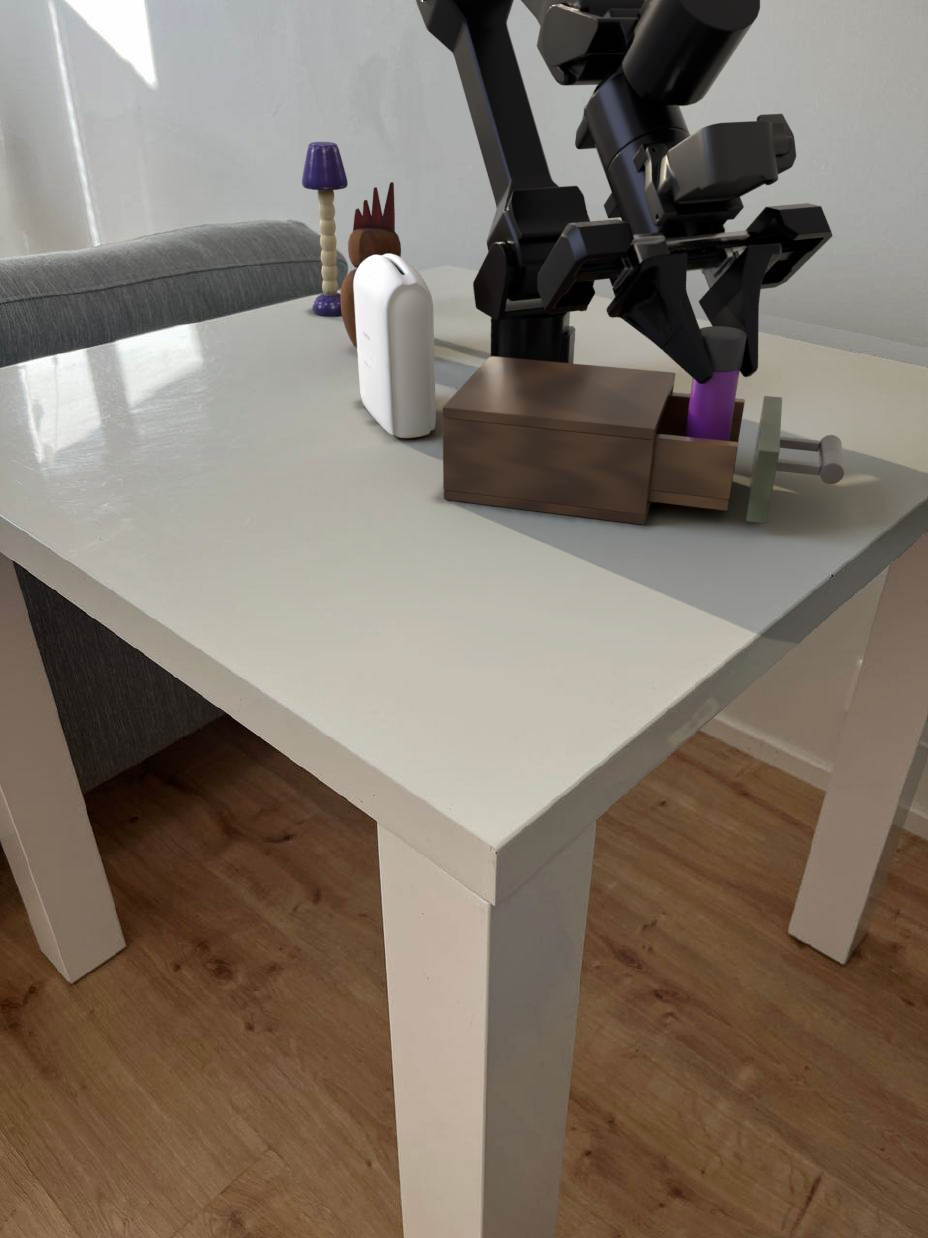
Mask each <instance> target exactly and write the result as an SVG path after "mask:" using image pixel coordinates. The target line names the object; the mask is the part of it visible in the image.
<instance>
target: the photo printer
mask: <svg viewBox="0 0 928 1238" xmlns="http://www.w3.org/2000/svg"><path fill="white" fill-rule="evenodd" d="M356 269H357V268H356ZM353 287H354V303H355V321H356V337H357V348H356V349H357V351H356V353H357V364H358V365H357V366H358V367H357V368H358V379H359V392H360V398H361V401H362V405H363V406H364V407H365V408H366V411H368V412H369V414H370V415H371V416H372V417H373V419H374V420H375V421H376V422H377V423H378V424H379V425H380V426H381V427H382V428H383V429H384V430H385V431H386V432H387V433H388V434H390V435H391V436H396V437H397V438H400V439H413V438H420V437H424V436H427V435H430V433H431V431H434V430H435V429H436V425H437V424H436V422H437V412H436V411H437V409H436V406H437V405H436V369H435V366H436V365H435V363H436V362H435V326H434V325H435V323H434V320H435V319H434V318H435V315H434V301H433V297H432V294H431V290H430V288H429V286H428V284H427V282H426V281H425V279H424V278H423V276H422V275H421V274H420V272H419V271H418V270H417V269H416V267H414V266H413V265H412V264H411V263H410V262H409V261H408V260H406V259H404V258H403V257H402V256H401V257H399V256H397V255H394V254H384V255H372V256H370V257H368V258H367V259H365V260H364V261H363V262H362V263H361V264H360V265H359V267H358V269H357V271H356V273H355V277H354V284H353Z"/></svg>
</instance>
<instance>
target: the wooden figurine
mask: <svg viewBox="0 0 928 1238" xmlns="http://www.w3.org/2000/svg"><path fill="white" fill-rule="evenodd" d="M362 204H363V205H362V212H361V210H360V208H356V209H355V210H354V216H353V224H352V225H353V226H352V232H351V233H350V234H349V238H348V241H347V254H348V258H349V261H350V263H351V265H352V266H353V267H354V269H351V270H350V271H349V273H348V274H347V275H346V276H345V278H344V279H343V281H342V284H341V287H340V294H341V312H342V315H341V317H342V321H343V325H344V328H345V331H346V333H347V336H348V338H349V340H350V341H351V343H352V344H351V345H353V347H354V348H356V349H357V337H356V321H355V303H354V287H353V284H354V277H355V273H356V271H357V269H358V267H359V265H360V264H361V263H362V262H363V261H364V260H365V259H367V258H368V257H370V256H372V255H384V254H394V255H397V256H399V257H401V258H402V244H401V243H402V242H401V240H400V237H399V235H398V234H397V232H396V212H395V211H396V209H395V183H394V182H393V181H391V182H389V185H388V190H387V195H386V199H385V204H384V208H383V211H382V206H381V205H382V204H381V199H380V195H379V190H378V187H376V186H375V187H373V190H372V202H371V209H370V205H369V202H368V199H364V200H363V202H362Z"/></svg>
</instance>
